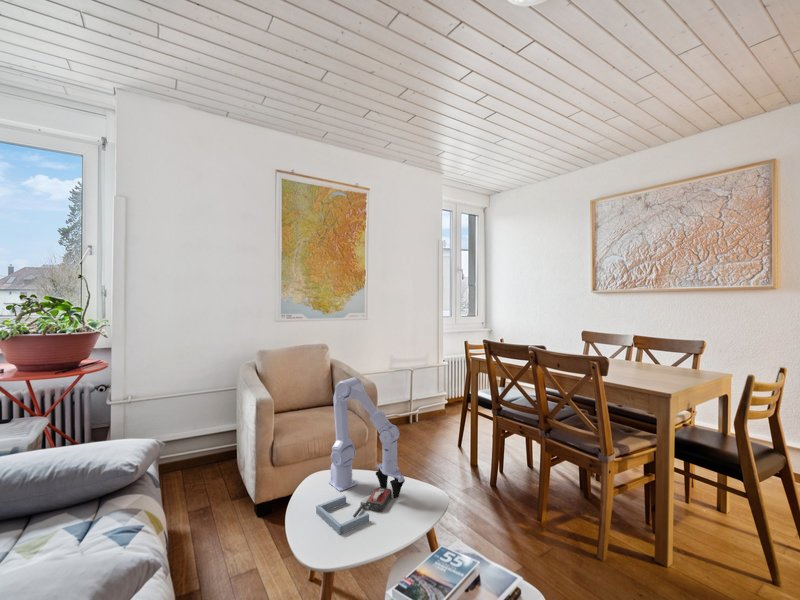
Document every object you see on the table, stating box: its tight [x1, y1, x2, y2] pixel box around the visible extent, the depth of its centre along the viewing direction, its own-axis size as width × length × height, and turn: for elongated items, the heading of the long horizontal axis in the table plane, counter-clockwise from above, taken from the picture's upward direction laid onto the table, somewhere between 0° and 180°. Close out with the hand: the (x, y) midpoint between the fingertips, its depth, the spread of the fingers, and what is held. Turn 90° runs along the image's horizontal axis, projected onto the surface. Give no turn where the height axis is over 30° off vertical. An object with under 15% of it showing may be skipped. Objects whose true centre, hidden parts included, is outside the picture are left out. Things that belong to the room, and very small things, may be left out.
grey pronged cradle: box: [315, 494, 370, 536], centre depth 133 cm, size 16×12×2 cm
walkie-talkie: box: [352, 487, 393, 519], centre depth 140 cm, size 9×4×20 cm
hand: (389, 493), depth 146 cm, fingers open, 7 cm apart
